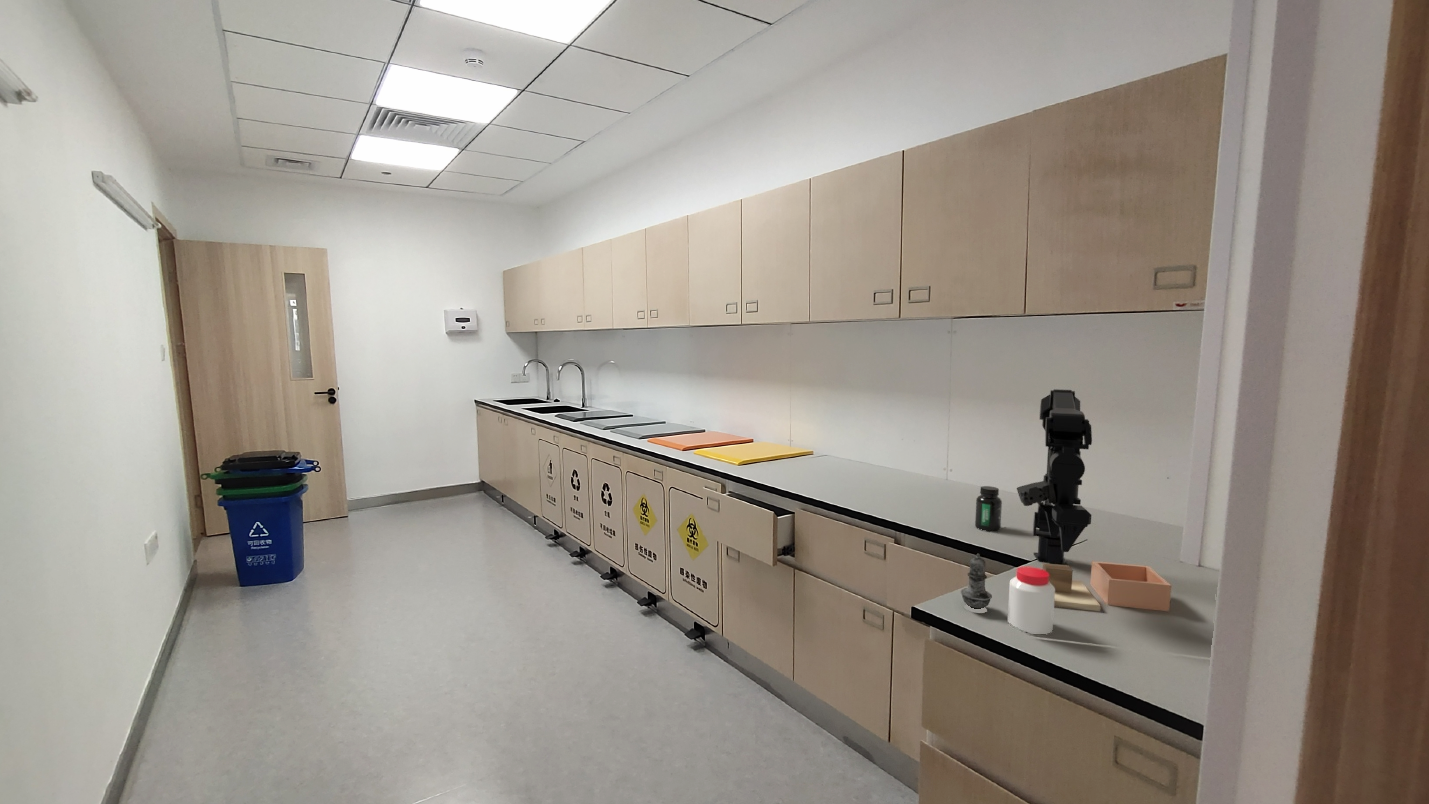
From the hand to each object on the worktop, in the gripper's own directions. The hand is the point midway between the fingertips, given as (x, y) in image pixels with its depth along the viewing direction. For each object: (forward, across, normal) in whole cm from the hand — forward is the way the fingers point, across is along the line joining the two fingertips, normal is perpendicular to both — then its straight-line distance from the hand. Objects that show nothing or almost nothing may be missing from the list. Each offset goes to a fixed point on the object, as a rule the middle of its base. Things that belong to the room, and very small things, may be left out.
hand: (1059, 544), depth 131 cm
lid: (+11, 0, 0) cm, 11 cm away
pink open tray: (+12, -3, +14) cm, 19 cm away
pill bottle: (+12, +17, -9) cm, 22 cm away
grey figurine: (+12, +12, -18) cm, 24 cm away
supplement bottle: (+12, -48, -6) cm, 50 cm away
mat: (+12, 0, 0) cm, 12 cm away
